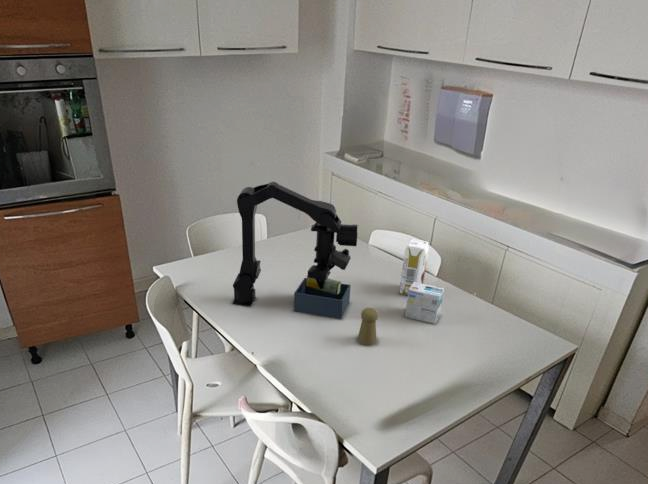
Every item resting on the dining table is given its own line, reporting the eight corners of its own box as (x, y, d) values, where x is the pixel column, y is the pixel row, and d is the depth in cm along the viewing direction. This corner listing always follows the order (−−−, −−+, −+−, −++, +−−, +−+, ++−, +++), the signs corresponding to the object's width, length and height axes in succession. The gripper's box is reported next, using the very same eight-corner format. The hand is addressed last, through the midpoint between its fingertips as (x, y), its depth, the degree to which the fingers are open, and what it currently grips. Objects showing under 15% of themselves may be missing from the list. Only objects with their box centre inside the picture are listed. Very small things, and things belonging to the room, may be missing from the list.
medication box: (340, 292, 178) (341, 281, 176) (337, 295, 176) (338, 284, 173) (309, 283, 182) (309, 272, 180) (305, 286, 180) (306, 275, 178)
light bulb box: (439, 315, 180) (445, 287, 174) (435, 324, 175) (440, 296, 169) (409, 308, 183) (413, 280, 178) (404, 317, 178) (408, 288, 172)
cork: (364, 347, 162) (367, 317, 156) (353, 338, 166) (356, 308, 160) (380, 343, 164) (383, 312, 158) (369, 333, 169) (372, 303, 163)
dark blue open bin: (293, 311, 180) (294, 292, 176) (304, 295, 190) (304, 277, 186) (341, 319, 176) (342, 301, 172) (349, 302, 186) (350, 284, 182)
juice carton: (397, 294, 192) (404, 246, 182) (403, 284, 199) (409, 237, 188) (418, 298, 190) (426, 249, 179) (422, 288, 196) (430, 240, 186)
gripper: (342, 258, 161) (339, 303, 169) (355, 236, 176) (351, 278, 184) (307, 253, 163) (306, 297, 172) (323, 232, 178) (321, 273, 187)
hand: (322, 286), depth 178 cm, fingers closed on medication box, 3 cm apart
